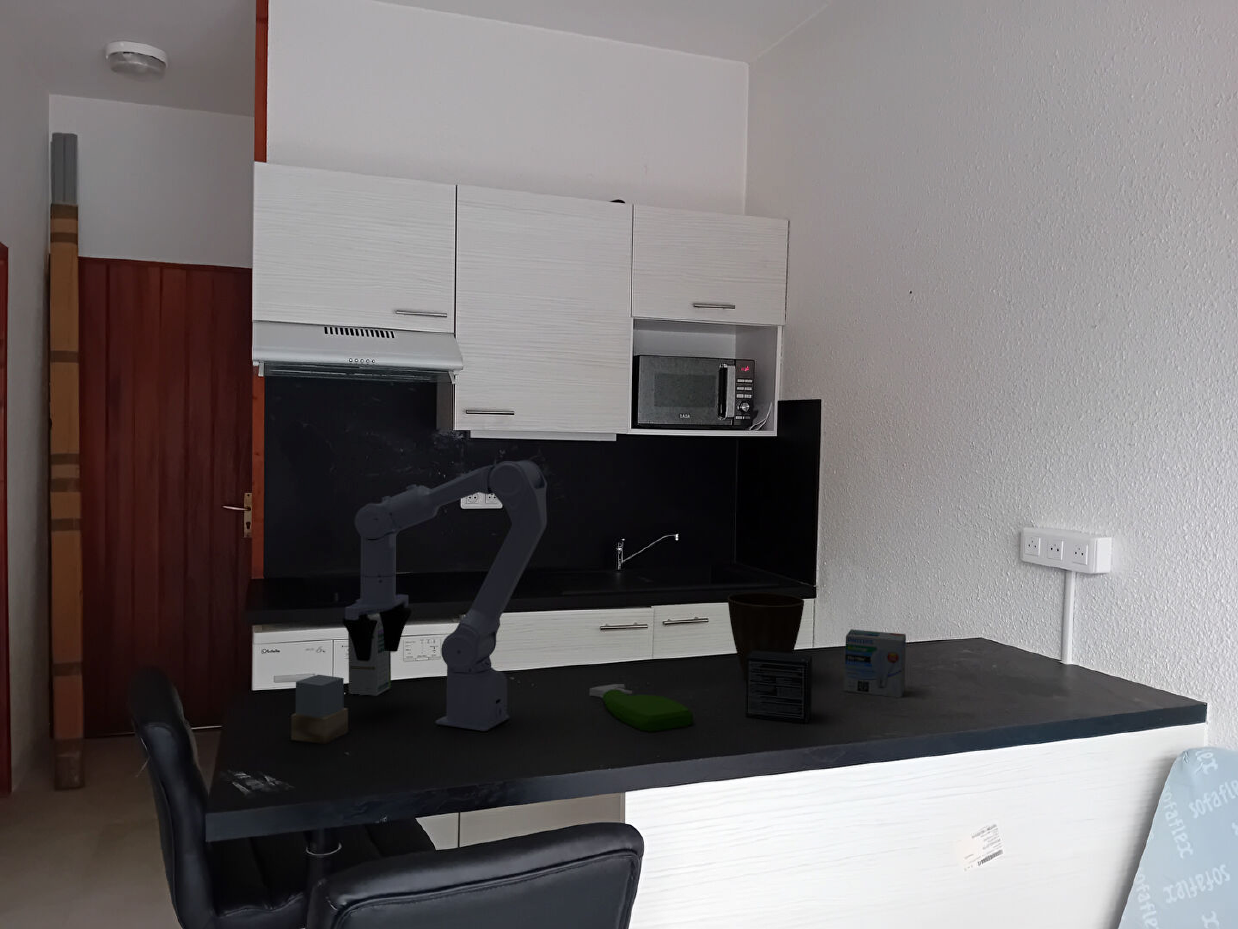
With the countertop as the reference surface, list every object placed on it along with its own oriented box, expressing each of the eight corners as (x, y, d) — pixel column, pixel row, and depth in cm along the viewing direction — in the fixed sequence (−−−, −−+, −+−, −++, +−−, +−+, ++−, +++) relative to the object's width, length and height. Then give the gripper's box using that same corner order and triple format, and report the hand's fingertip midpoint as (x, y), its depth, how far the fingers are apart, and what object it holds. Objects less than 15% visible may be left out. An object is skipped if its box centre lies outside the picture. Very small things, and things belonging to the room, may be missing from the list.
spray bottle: (641, 736, 147) (576, 700, 169) (699, 727, 152) (628, 693, 174) (641, 717, 147) (576, 683, 169) (699, 709, 152) (628, 677, 174)
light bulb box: (843, 692, 174) (844, 634, 174) (848, 683, 180) (849, 628, 180) (902, 698, 170) (903, 640, 170) (905, 689, 176) (906, 633, 176)
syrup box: (377, 696, 166) (378, 616, 166) (347, 694, 167) (347, 614, 167) (391, 688, 172) (392, 610, 171) (362, 686, 173) (362, 609, 172)
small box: (812, 714, 159) (813, 653, 159) (807, 725, 153) (808, 661, 153) (751, 707, 163) (752, 648, 162) (744, 718, 156) (745, 656, 156)
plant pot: (817, 679, 183) (818, 598, 182) (776, 694, 172) (778, 608, 171) (753, 666, 193) (754, 590, 192) (711, 679, 181) (712, 598, 181)
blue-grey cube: (343, 709, 145) (343, 678, 145) (321, 718, 140) (321, 685, 140) (318, 705, 147) (318, 674, 147) (295, 714, 142) (295, 682, 142)
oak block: (347, 733, 146) (347, 708, 146) (324, 745, 140) (325, 719, 140) (315, 729, 147) (315, 704, 147) (291, 741, 142) (291, 715, 142)
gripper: (385, 568, 163) (384, 644, 163) (330, 578, 150) (329, 662, 150) (418, 570, 160) (418, 648, 161) (365, 581, 147) (365, 666, 147)
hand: (377, 655), depth 155 cm, fingers open, 7 cm apart
